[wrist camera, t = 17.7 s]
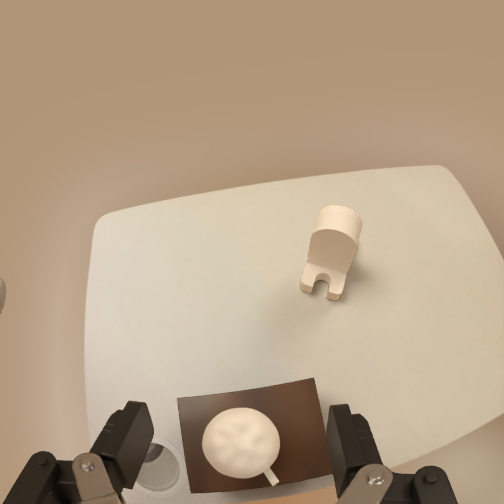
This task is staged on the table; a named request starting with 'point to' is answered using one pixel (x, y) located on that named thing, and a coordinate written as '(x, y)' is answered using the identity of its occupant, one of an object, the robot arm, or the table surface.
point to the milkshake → (242, 444)
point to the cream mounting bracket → (332, 249)
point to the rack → (284, 419)
